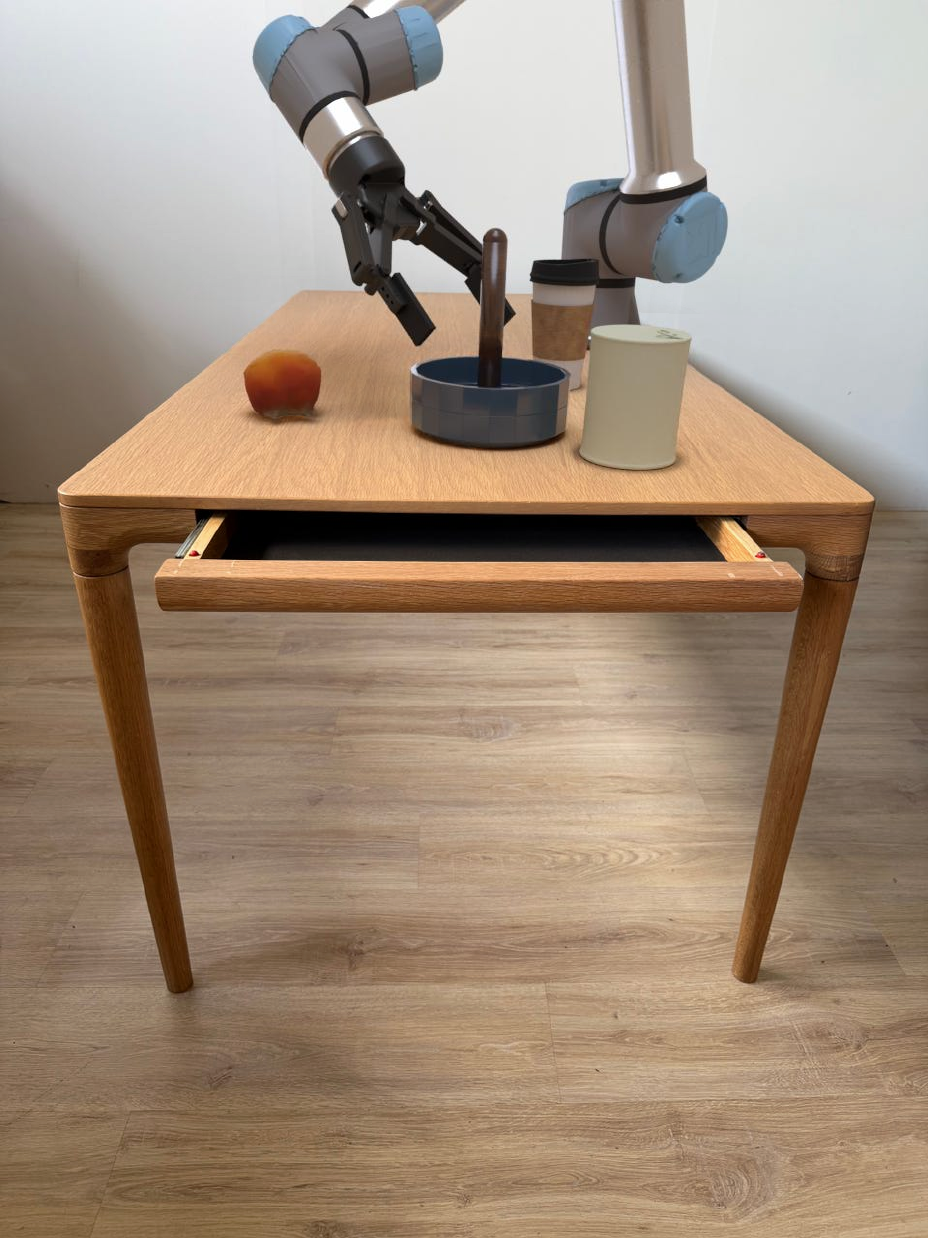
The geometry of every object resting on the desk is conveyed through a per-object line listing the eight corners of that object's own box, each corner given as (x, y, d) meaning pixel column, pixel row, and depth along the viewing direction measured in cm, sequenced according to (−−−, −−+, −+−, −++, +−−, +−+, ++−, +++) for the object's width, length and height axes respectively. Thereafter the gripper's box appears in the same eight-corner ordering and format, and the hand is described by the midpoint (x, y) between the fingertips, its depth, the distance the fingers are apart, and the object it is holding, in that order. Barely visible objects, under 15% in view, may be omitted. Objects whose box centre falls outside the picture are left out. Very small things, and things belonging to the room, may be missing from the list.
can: (654, 476, 83) (672, 339, 78) (562, 458, 87) (573, 327, 82) (689, 453, 90) (707, 326, 85) (602, 437, 94) (615, 315, 89)
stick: (496, 413, 99) (505, 225, 90) (520, 425, 95) (531, 229, 86) (455, 418, 96) (460, 225, 88) (477, 429, 93) (485, 229, 84)
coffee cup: (587, 395, 112) (599, 263, 105) (518, 389, 113) (525, 259, 106) (592, 381, 119) (604, 257, 112) (527, 376, 120) (535, 253, 114)
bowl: (547, 410, 104) (551, 356, 101) (582, 450, 90) (588, 388, 87) (405, 410, 102) (405, 355, 99) (417, 451, 88) (418, 388, 85)
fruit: (264, 417, 91) (247, 339, 92) (248, 440, 99) (233, 368, 99) (340, 410, 95) (324, 335, 95) (320, 433, 102) (305, 363, 102)
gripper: (414, 187, 106) (514, 338, 105) (247, 187, 88) (366, 369, 87) (451, 136, 101) (557, 294, 100) (282, 125, 83) (409, 317, 82)
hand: (468, 329), depth 93 cm, fingers open, 13 cm apart
